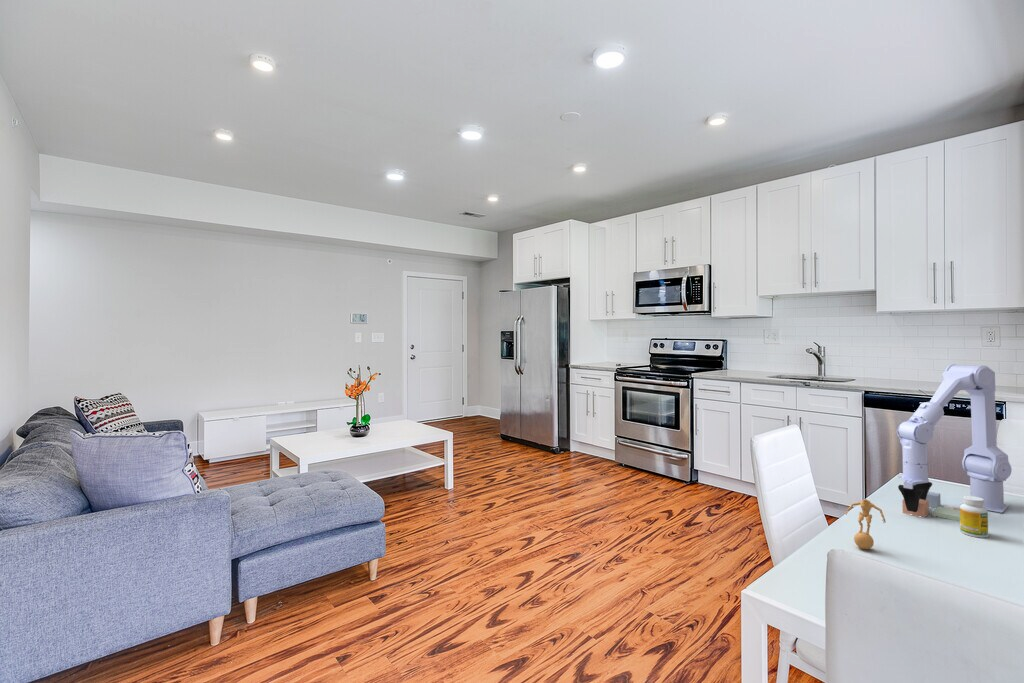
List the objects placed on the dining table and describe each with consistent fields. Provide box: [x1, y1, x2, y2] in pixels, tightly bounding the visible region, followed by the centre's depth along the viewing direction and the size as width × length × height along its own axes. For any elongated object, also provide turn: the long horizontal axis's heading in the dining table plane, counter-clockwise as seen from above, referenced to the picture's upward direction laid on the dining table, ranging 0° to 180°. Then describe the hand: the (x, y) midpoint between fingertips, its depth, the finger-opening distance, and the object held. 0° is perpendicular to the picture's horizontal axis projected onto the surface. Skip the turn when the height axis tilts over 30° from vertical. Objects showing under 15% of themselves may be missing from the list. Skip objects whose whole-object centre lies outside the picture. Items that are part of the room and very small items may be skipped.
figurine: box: [845, 498, 886, 550], centre depth 122 cm, size 8×6×12 cm
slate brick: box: [926, 491, 942, 509], centre depth 151 cm, size 4×4×4 cm
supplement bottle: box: [959, 495, 989, 539], centre depth 129 cm, size 5×5×10 cm
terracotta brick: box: [901, 498, 930, 518], centre depth 145 cm, size 5×5×4 cm
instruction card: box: [944, 505, 960, 510], centre depth 146 cm, size 6×6×1 cm
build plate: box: [931, 506, 960, 522], centre depth 142 cm, size 7×7×1 cm
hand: (915, 508), depth 145 cm, fingers open, 7 cm apart
